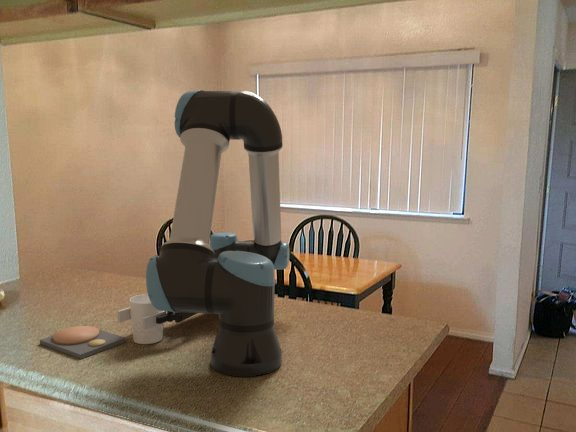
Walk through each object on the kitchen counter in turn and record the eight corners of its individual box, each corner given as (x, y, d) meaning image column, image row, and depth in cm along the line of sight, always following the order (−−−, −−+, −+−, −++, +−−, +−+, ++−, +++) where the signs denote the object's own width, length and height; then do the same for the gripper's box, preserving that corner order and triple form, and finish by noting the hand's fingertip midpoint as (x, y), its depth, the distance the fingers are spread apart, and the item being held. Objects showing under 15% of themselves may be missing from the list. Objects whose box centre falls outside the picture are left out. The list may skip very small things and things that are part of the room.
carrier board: (125, 341, 120) (125, 334, 120) (80, 359, 110) (80, 351, 110) (85, 329, 128) (85, 322, 128) (39, 343, 118) (39, 336, 118)
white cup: (166, 332, 127) (165, 293, 125) (163, 344, 119) (162, 302, 117) (133, 334, 125) (131, 294, 124) (128, 346, 118) (126, 303, 116)
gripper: (229, 317, 131) (163, 345, 112) (171, 303, 142) (102, 327, 123) (229, 289, 130) (162, 312, 111) (171, 277, 141) (101, 296, 122)
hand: (131, 320), depth 117 cm, fingers closed on white cup, 8 cm apart
